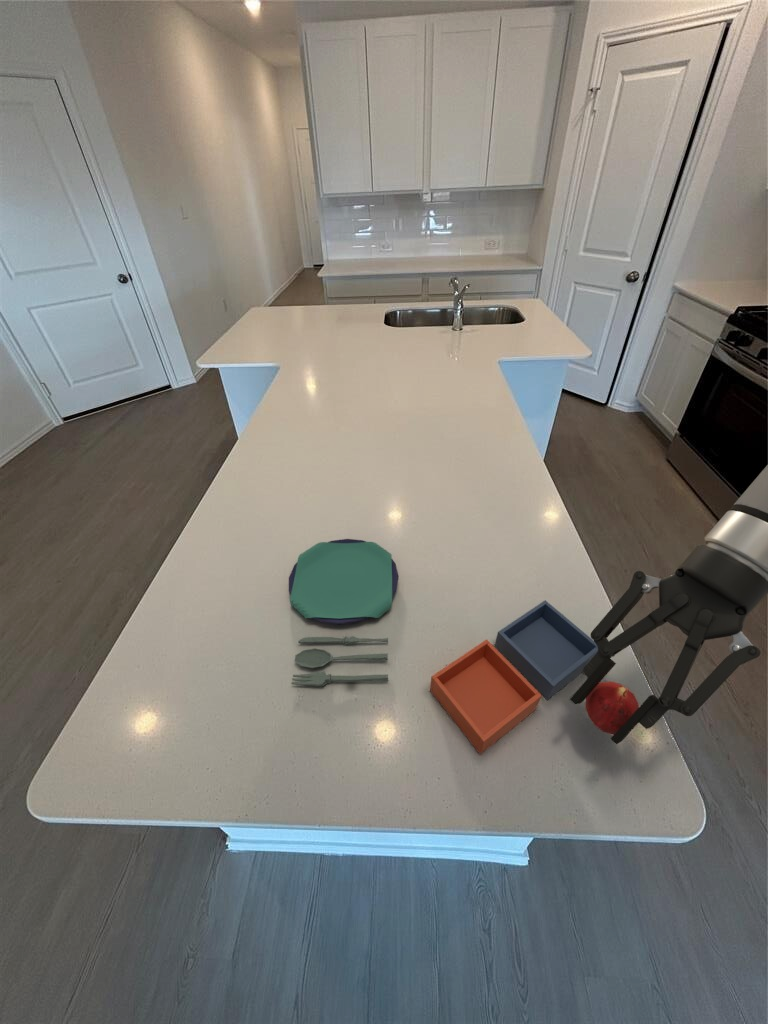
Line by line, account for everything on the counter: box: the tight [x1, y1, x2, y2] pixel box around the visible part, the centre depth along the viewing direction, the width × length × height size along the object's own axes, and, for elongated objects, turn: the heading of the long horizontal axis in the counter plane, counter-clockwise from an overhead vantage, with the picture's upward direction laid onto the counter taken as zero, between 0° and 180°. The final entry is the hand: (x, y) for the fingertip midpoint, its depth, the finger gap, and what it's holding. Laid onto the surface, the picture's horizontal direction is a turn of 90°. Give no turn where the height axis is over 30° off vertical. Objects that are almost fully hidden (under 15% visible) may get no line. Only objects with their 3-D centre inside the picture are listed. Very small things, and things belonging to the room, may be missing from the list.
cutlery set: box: [288, 538, 399, 687], centre depth 76 cm, size 20×30×2 cm, turn 0°
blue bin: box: [494, 600, 598, 701], centre depth 67 cm, size 11×11×4 cm
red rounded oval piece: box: [585, 681, 640, 736], centre depth 53 cm, size 6×6×8 cm
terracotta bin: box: [429, 639, 543, 755], centre depth 62 cm, size 11×11×4 cm
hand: (595, 719), depth 51 cm, fingers closed on red rounded oval piece, 5 cm apart
